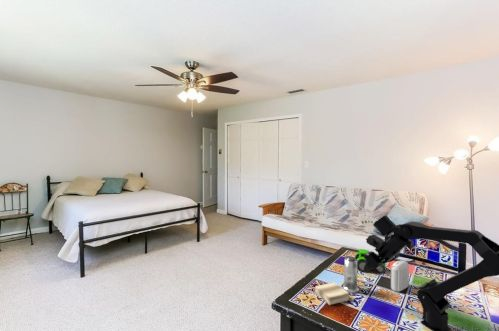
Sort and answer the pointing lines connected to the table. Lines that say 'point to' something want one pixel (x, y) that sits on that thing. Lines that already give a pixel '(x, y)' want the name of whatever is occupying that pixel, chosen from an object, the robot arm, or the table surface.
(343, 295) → the stand
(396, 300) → the table surface
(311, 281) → the table surface
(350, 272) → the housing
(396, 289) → the photo printer
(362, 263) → the toy tractor
